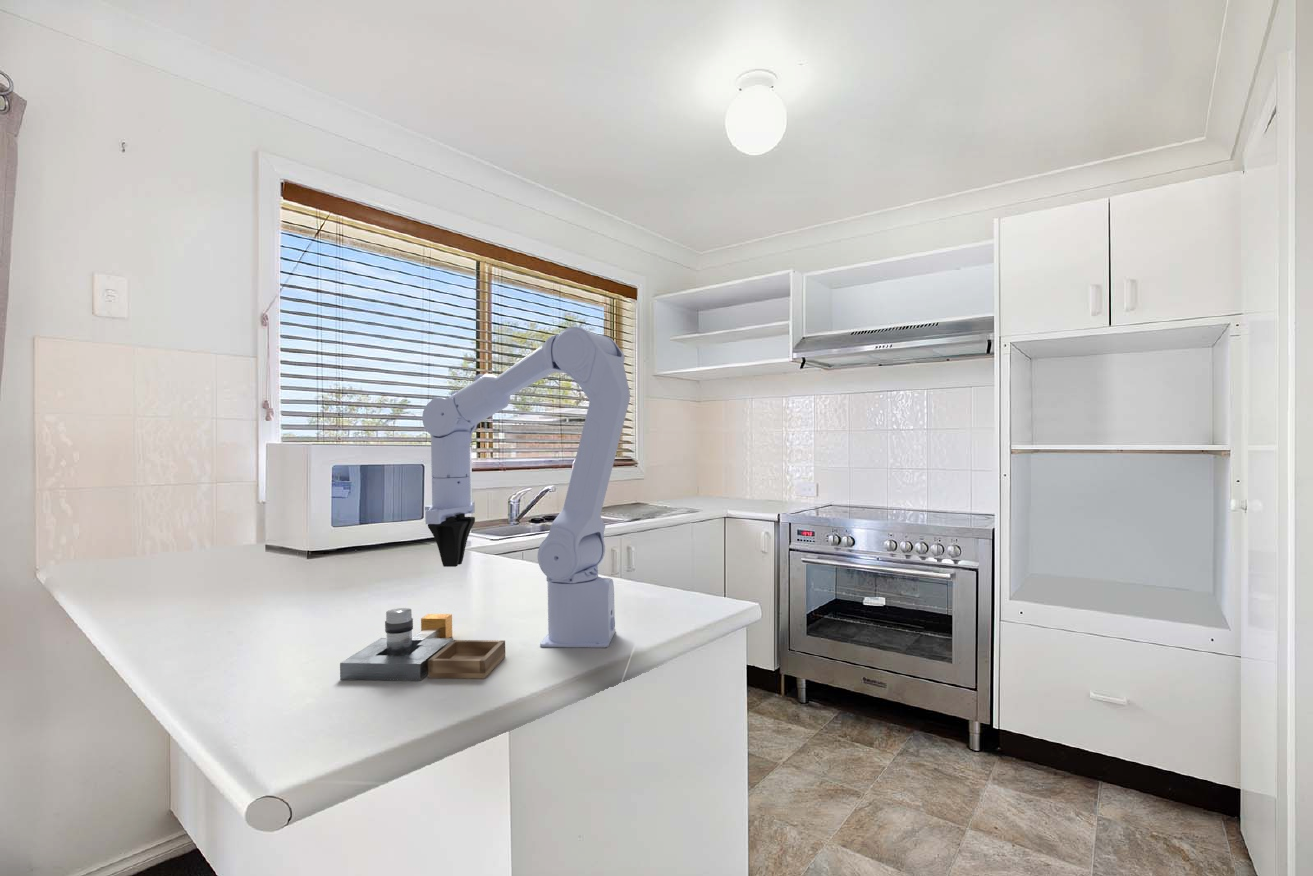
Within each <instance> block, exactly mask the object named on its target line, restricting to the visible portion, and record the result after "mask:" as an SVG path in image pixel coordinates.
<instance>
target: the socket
mask: <svg viewBox="0 0 1313 876" xmlns="http://www.w3.org/2000/svg"><path fill="white" fill-rule="evenodd" d="M453 640H454V638H426V639H425V640H423V641H422V642H420V643H419V644H417V649H416V650H415V651H414V652H412V653H411V654H410V655H408V656H390V655H387V637H381V638H379V639H377V640H376V641H373V642H372V643H370V644H369V645H367V646H365V647H364V648H362V649H360V650H359V651H358V652H355V653H354V654H352V655H351V656H349V657H347V658H346V659H344V660H342V661H340V663H339V675H340V676H339V680H343V681H344V680H345V681H346V680H348V681H349V680H350V681H406V682H407V681H411V682H412V681H413V682H416V681H418V682H419V681H420V682H421V681H422V680H424V679H425V677H428V660H429V659H430V658H431V657H433V656H434V655H435V654H437V653H438V652H439V651H440V650H442V649H443V648H444V647H445V646H447V645H448V644H449V643H451V642H452V641H453Z"/></svg>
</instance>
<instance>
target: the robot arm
mask: <svg viewBox="0 0 1313 876" xmlns="http://www.w3.org/2000/svg"><path fill="white" fill-rule="evenodd" d="M625 359H626V355H625V353H624V352H623V351H622V350H621V348H620V347H619V346H618V344H617V343H616V341H614V340H613V338H611V337H610V336H607V335H602V334H601V335H600V334H598V333H595V332H591V331H588V330H586V329H584V328H582V327H580V326H569V327H565V328H564V329H563V330H561V331H560V332H559V333H558V334H557V333H556V334H553V335H552V336H549V337H548V338H547V339H546V340H545V342H544V343H543V344H542V345H540V346H539V347H538V348H536V349H535V350H534V351H532V352H530V353H529V354H528V355H526V356H525V357H523V358H522V359H520V360H519V361H518V362H516V363H514V364H513V365H512V366H510V367H509V368H507V369H506V370H505V371H503V372H502V373H500V374H499V375H494V374H492V373H485V374H482V373H478V374H477V375H475V376H473V380H474V381H473V382H471V383H469V384H467V385H466V386H464V387H463V388H461V389H460V390H459V389H458V390H457V389H455V390H453V391H451V392H450V395H449V397H448V398H445V397H438V396H437V397H433V398H432V399H431V400H430V401H429V402H428V403H427V404H425V407H424V409H423V411H422V418H421V419H422V421H421V422H422V424H423V428H424V429H425V431H426V432H427V434H430V449H431V450H430V452H431V453H430V454H431V459H430V461H431V465H430V467H431V504H430V505H425V506H424V512H425V514H424V515H425V525H427V527H428V529H429V531H430V532H431V534H432V536H433V538H434V540H435V543H436V545H437V549H438V553H439V556H440V560H441V564H442V566H443V567H444V568H451V567H452V568H453V567H454V568H456V567H458V566H459V565H462V564H463V560H464V557H465V552H466V547H467V542H468V539H469V535H470V533H471V530H472V529H473V526H474V524H475V521H476V516H466V515H468V514H474V513H476V511H475V510H476V509H475V508H476V507H475V500H473V501H472V495H471V493H472V492H471V491H472V490H471V444H472V442H473V441H472V437H473V433H474V432H475V430H476V428H477V426H478V425H479V424H480V423H481V422H484V421H485V420H487V419H488V418H490V417H492V416H494V415H495V414H497V413H499V412H501V411H502V410H504V409H505V408H508V406H509V404H510V401H511V396H512V395H514V394H516V393H518V392H520V391H521V390H524V389H525V388H527V387H529V386H531V385H533V384H535V383H537V382H539V381H540V380H543V379H545V378H546V377H549V376H550V375H552V374H566V375H567V376H569V377H570V378H571V379H573V380H574V381H575V382H576V383H577V384H578V385H579V387H580V389H581V390H582V391H583V393H584V395H585V396H586V398H587V399H588V402H589V403H588V406H587V407H588V408H587V412H586V415H585V419H584V423H583V427H582V430H581V435H580V439H579V442H578V448H577V451H576V456H575V460H574V464H573V469H572V472H571V476H570V479H569V484H568V488H567V491H566V495H565V498H564V499H565V500H564V504H563V507H562V509H561V511H560V512H559V514H558V515H557V516H556V517H555V518H554V520H553V522H551V525H550V527H549V528H550V529H549V530H548V531H549V532H548V534H547V536H546V537H545V539H543V541H542V542H541V544H540V545H539V548H538V549H537V562H538V563H537V564H538V566H539V569H540V570H541V572H542V573H543V574H544V575H545V576H546V582H547V627H548V628H547V629H548V633H547V635H546V636H545V637H544V638H543V639H542V640H541V642H540V644H539V647H540V648H596V649H597V648H599V649H600V648H605V649H606V648H608V647H609V645H610V644H611V642H612V640H613V638H614V635H615V633H616V619H615V617H616V615H615V611H616V609H615V586H614V579H613V578H611V577H601V576H599V570H598V567H599V564H601V562H602V561H603V560H604V557H605V553H606V545H605V541H604V540H605V539H604V533H605V529H606V524H605V522H604V520H603V518H602V516H601V515H602V510H603V506H604V502H605V498H606V494H607V491H608V486H609V484H610V483H609V482H610V478H611V474H612V471H613V467H614V463H615V459H616V455H617V451H618V448H619V442H620V440H621V436H622V431H623V427H624V424H625V420H626V415H627V412H628V408H629V404H630V399H631V391H630V387H629V382H628V379H627V374H626V369H625V363H624V362H625Z"/></svg>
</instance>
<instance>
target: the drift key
mask: <svg viewBox="0 0 1313 876" xmlns="http://www.w3.org/2000/svg"><path fill="white" fill-rule="evenodd" d="M426 638H449V639H451V638H453V614H452V613H439V614H438V613H428V614H426V615H424V616H423V617H421V618H420V632H418V633H417V634H415V635H412V652H414V651H415V650H416V649H417V644H419V643H420V642H422V641H423V640H425V639H426Z"/></svg>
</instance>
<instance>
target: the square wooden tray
mask: <svg viewBox="0 0 1313 876" xmlns="http://www.w3.org/2000/svg"><path fill="white" fill-rule="evenodd" d="M504 658H506V640H501V639H500V640H498V639H497V640H496V639H495V640H492V639H490V640H487V639H485V640H484V639H481V640H480V639H479V640H478V639H476V640H473V639H469V640H468V639H453V641H452V642H451V643H449V644H448V645H447V646H445V647H444V648H443V649H442V650H440V651H439V652H438V653H437V654H435V655H434V656H433V657H431V658H430V659H429V660H428V675H427V678H428V679H429V678H430V679H432V678H433V679H486V678H487V677H488V675H489V674H491V672H493V670H494V669H495V668H496V667H497V666H498V665H499V664H500V663H501V662H502V661H503V660H504Z"/></svg>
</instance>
